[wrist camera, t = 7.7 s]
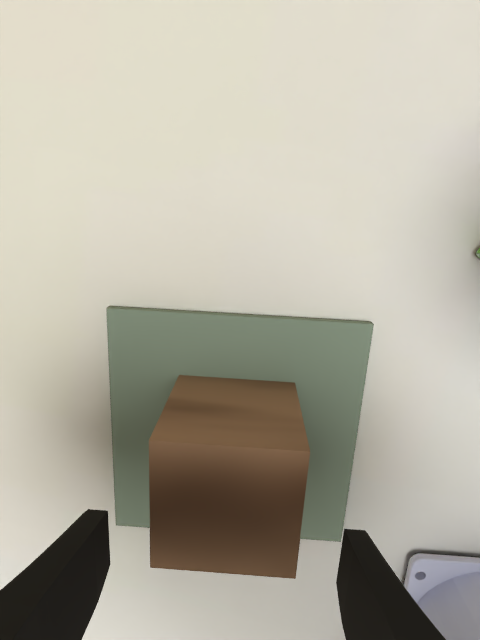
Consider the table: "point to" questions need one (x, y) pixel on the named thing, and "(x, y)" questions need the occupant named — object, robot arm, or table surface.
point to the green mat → (239, 363)
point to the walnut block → (228, 477)
